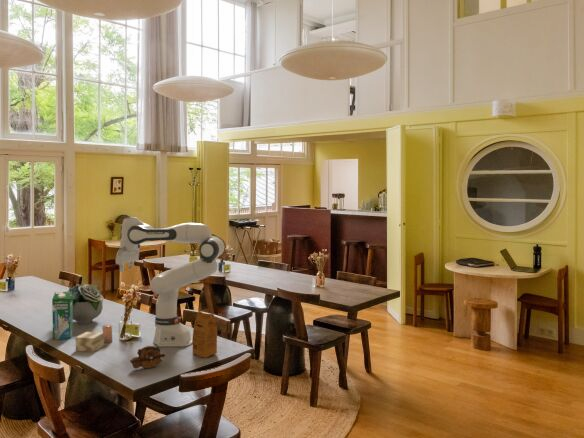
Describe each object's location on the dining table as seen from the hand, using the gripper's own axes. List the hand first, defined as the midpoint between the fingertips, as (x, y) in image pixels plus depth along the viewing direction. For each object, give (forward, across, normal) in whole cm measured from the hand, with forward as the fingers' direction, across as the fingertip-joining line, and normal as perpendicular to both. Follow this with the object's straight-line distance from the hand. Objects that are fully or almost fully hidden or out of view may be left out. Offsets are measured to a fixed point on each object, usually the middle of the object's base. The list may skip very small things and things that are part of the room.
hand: (126, 270), depth 278 cm
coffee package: (+34, -15, -54) cm, 66 cm away
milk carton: (+42, -3, +33) cm, 54 cm away
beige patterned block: (+40, -18, +8) cm, 44 cm away
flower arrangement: (+42, +26, +37) cm, 62 cm away
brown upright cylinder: (+40, -7, +4) cm, 40 cm away
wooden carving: (+36, -38, -34) cm, 63 cm away
